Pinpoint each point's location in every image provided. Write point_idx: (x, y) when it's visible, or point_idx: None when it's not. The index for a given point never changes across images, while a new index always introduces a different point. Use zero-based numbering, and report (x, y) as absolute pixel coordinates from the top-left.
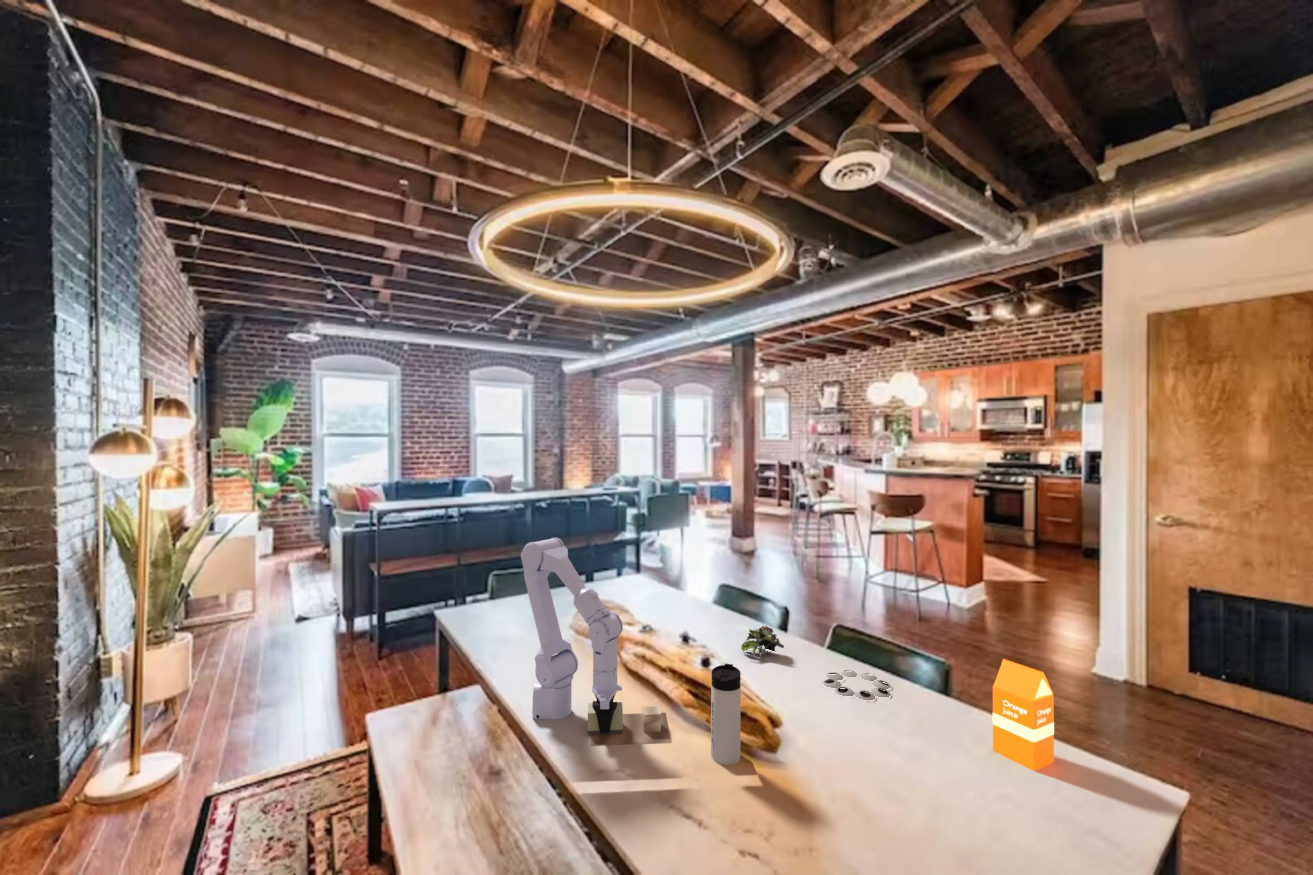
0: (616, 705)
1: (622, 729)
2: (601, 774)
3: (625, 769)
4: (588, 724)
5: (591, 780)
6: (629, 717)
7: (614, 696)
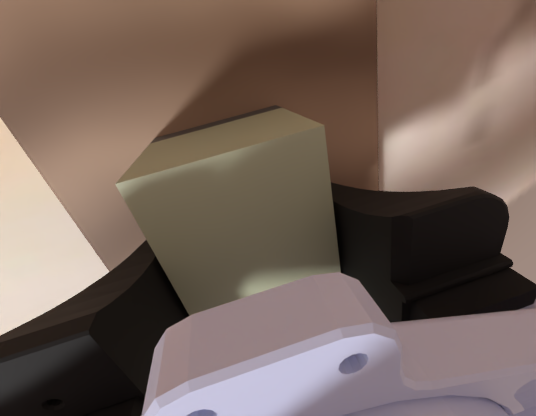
0: (493, 196)
1: (281, 108)
2: (494, 127)
3: (489, 33)
4: None
5: (515, 151)
6: (59, 106)
7: (130, 285)
